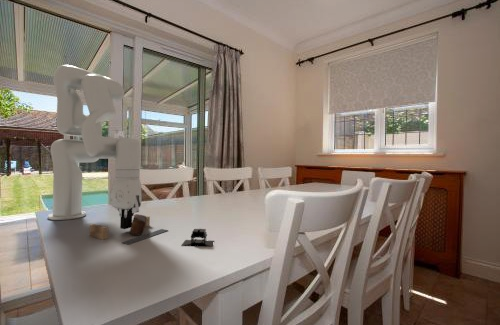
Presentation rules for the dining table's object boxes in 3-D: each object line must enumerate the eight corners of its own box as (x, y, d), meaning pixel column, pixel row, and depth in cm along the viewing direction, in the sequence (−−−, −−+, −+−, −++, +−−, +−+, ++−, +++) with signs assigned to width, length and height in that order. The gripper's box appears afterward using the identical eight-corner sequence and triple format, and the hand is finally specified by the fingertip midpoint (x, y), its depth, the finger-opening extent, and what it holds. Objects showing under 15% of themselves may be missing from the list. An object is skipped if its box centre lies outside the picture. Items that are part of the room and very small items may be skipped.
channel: (89, 236, 79) (89, 225, 79) (137, 223, 95) (137, 214, 95) (102, 239, 76) (102, 228, 76) (149, 225, 92) (149, 216, 92)
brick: (141, 236, 80) (145, 221, 81) (128, 234, 79) (132, 220, 79) (143, 227, 90) (147, 214, 91) (132, 225, 89) (135, 212, 89)
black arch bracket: (175, 248, 72) (175, 233, 72) (181, 240, 79) (182, 226, 79) (217, 249, 72) (218, 234, 72) (220, 241, 80) (220, 227, 80)
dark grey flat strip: (121, 242, 74) (121, 242, 74) (161, 229, 88) (161, 228, 88) (128, 244, 72) (128, 244, 72) (168, 230, 87) (168, 230, 87)
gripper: (102, 173, 84) (101, 227, 84) (133, 176, 77) (131, 234, 78) (122, 172, 91) (121, 222, 91) (152, 175, 84) (150, 228, 85)
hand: (126, 227), depth 84 cm, fingers closed
